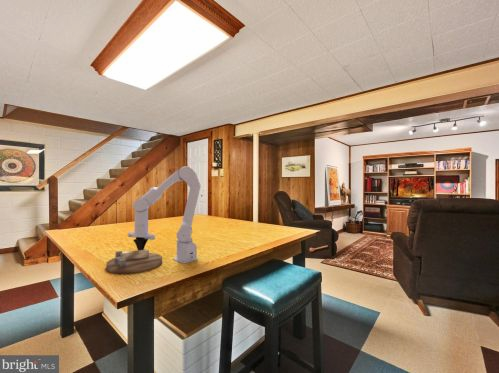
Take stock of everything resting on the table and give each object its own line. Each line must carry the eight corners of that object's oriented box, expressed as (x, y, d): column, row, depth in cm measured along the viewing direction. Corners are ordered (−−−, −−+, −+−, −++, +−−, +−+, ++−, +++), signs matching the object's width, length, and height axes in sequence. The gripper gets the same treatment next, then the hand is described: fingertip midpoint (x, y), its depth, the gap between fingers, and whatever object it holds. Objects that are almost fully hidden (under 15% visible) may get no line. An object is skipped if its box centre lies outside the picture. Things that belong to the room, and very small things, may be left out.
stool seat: (171, 264, 105) (171, 252, 105) (118, 278, 88) (119, 265, 88) (147, 254, 119) (147, 244, 119) (98, 265, 102) (98, 253, 102)
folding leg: (115, 261, 101) (115, 252, 101) (115, 259, 103) (115, 251, 103) (148, 257, 107) (148, 249, 107) (148, 255, 109) (148, 248, 109)
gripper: (160, 224, 110) (159, 253, 110) (136, 222, 115) (136, 249, 115) (148, 226, 104) (147, 257, 104) (124, 224, 109) (123, 253, 109)
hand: (140, 253), depth 109 cm, fingers closed, pressing on folding leg
